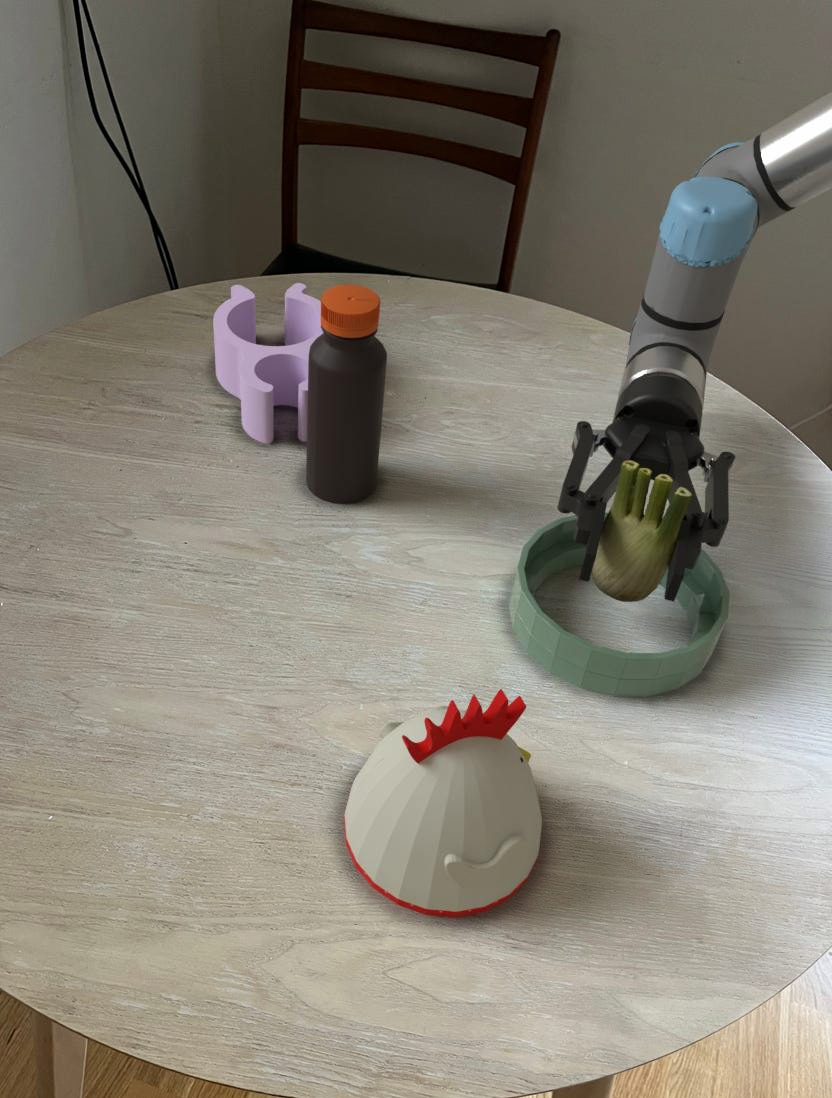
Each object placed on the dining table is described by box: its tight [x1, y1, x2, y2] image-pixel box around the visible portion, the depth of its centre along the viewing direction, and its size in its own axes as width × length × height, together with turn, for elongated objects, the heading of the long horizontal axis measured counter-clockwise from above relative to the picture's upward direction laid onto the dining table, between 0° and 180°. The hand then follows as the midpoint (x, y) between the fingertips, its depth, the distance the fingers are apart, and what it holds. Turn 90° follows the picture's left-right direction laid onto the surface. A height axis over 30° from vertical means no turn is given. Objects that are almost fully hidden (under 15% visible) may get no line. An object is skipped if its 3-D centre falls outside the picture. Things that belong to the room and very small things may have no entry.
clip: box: [212, 282, 323, 445], centre depth 111 cm, size 20×12×7 cm, turn 8°
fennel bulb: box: [591, 460, 692, 603], centre depth 85 cm, size 6×5×12 cm
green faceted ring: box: [508, 512, 731, 698], centre depth 90 cm, size 17×17×6 cm
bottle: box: [305, 284, 388, 505], centre depth 96 cm, size 7×7×20 cm
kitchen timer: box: [343, 688, 543, 918], centre depth 72 cm, size 14×14×15 cm
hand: (630, 577), depth 81 cm, fingers closed on fennel bulb, 6 cm apart
